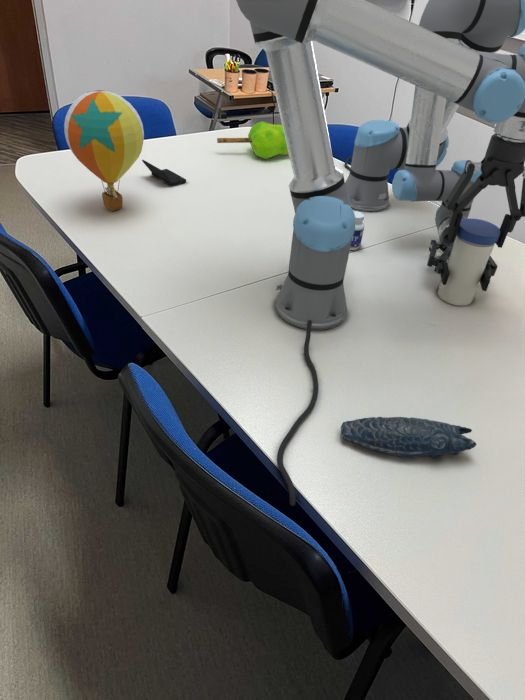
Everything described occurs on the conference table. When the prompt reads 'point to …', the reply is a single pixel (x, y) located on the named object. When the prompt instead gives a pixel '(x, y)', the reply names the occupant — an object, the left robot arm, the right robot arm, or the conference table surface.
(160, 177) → the black angled piece
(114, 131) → the toy
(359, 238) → the pill bottle
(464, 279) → the jar
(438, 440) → the fish model
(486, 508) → the conference table surface
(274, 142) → the decorative tree
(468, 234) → the lid
